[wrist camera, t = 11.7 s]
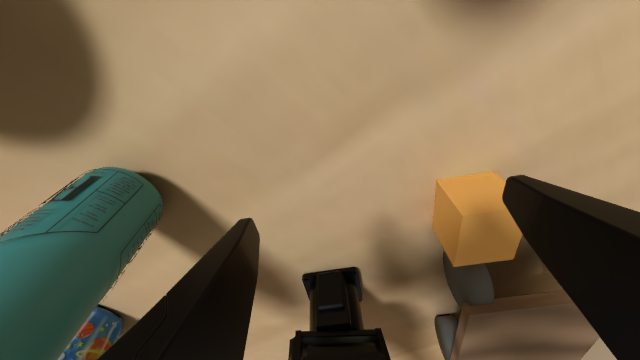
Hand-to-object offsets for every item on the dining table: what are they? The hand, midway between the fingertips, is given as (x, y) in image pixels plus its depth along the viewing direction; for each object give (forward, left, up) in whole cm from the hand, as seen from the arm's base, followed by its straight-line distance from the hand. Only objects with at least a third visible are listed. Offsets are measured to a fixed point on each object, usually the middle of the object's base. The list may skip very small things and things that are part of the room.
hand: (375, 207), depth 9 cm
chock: (-11, -10, -12) cm, 20 cm away
